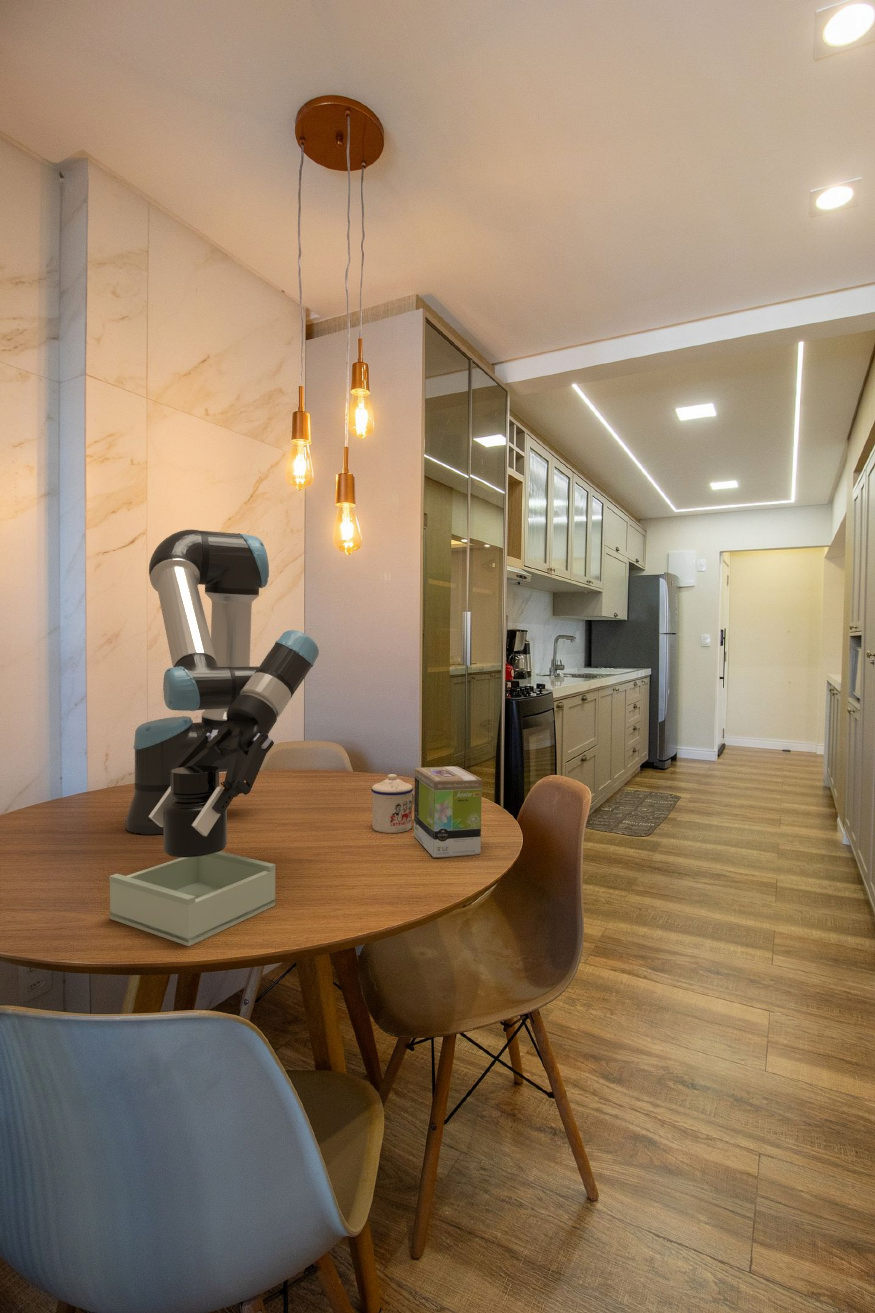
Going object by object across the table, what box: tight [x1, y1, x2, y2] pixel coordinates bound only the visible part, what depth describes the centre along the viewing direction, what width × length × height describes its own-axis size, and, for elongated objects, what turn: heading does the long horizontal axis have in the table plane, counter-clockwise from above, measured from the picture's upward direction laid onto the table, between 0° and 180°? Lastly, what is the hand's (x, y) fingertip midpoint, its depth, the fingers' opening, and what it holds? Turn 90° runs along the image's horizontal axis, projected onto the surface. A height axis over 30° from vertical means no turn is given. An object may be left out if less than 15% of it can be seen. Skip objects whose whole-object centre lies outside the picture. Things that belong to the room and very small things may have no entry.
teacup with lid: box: [371, 773, 415, 834], centre depth 145 cm, size 12×9×12 cm
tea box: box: [413, 765, 483, 858], centre depth 132 cm, size 15×10×15 cm, turn 17°
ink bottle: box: [163, 765, 228, 859], centre depth 98 cm, size 10×9×12 cm
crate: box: [108, 850, 277, 947], centre depth 99 cm, size 17×16×6 cm
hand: (176, 826), depth 95 cm, fingers closed on ink bottle, 9 cm apart
